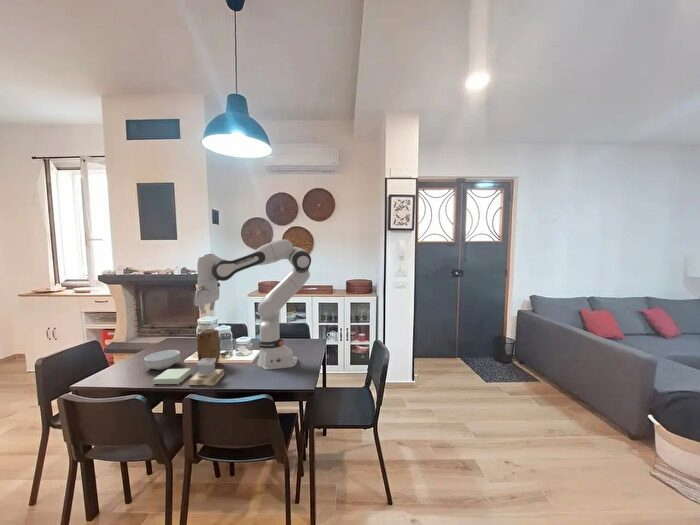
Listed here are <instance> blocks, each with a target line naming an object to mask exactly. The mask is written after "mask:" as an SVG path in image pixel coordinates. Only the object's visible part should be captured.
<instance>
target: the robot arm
mask: <svg viewBox="0 0 700 525" xmlns="http://www.w3.org/2000/svg"><path fill="white" fill-rule="evenodd" d="M281 260H288V261H289V263H290V264H291V265H292V269H291V270H290V272H288V273H287V274H286V275H285V276H284V277H283V278H282V279H281V280H280V281H279V282H278V284H276V285H275V286H274V288H273V289H271V290H270V292H269V293H268V294H266V295H265V296H263V297H262V298H261V300H260V302H259V303H258V305H257V311H258V314H259V316H260V317H259V340H258V348H259V353H258V354H259V356H258V360H257V363H256V364H257V366H258V368H259V367H260V368H261V369H262V368H263V370H275V369H276V370H278V369H286V368H287V369H288V368H293V367H294V366H296V365H297V364H298V357H297V356H294V352H293V350H292V349H291V348H290V347H289V346H286V345H285V344H284V338H281V337H280V335H281V334H280V318H281V317H280V311H281V309H282V308H283V307H284V306H285V305H286V304H287V303H288V302H289V301H290V299H291V298H292V297H293V296H294V295H295V294H296V293H298V292H299V291H300V289H302V287H303V286H304V285H305V284H306V283H307V282H308V280H309V278H310V277H311V273H310V272H311V271H310V270H309V269H310V266H311V264H312V257H311V255H310V254H309V252H308V251H307V250H305V249H304V248H302V247H300V246H296V245H293V244H292V242H291V241H290V240H289V239H280V240H279V239H278V240H274V241H271V242H268V243H266V244H263V245H261V246H260V247H258V248H256V249H255V250H254V251H253V252H251V253H248V254H247V255H245V256H242V257H238V258H236V259H232V260H227V259H225V258H222V257H219V256H218V255H216V254H215V253H207V254H202V255H200V256H199V257H198V259H197V263H196V265H197V266H196V268H197V269H196V270H197V275H198V276H197V288H196V291H195V293H194V300H193V301H194V302H193V303H194V306H195V307H198V308H199V311H200V314H201V315H204V314H206V309H205V306H206V305H208V304H210V306H209V311H213V310H215V304H216V301H218V300H219V299H220V287H221V283H220V282H219V281H221V282H225V281H228V280H230V279H231V278H232V277H233V276H234V275H235V274H237V273H239V272H241V271H243V270H247V269H249V268H252V267H255V266H264V265H269V264H273V263H276V262H279V261H281ZM217 280H218V281H217Z"/></svg>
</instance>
